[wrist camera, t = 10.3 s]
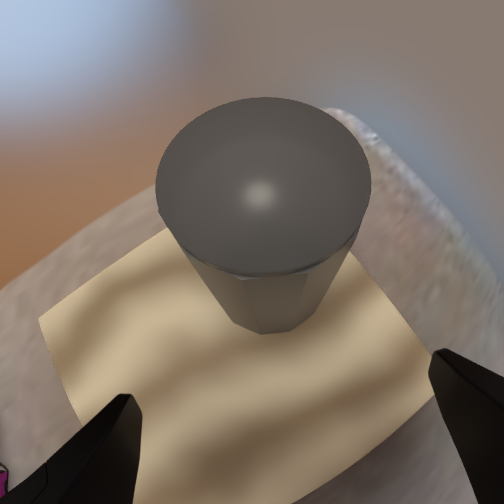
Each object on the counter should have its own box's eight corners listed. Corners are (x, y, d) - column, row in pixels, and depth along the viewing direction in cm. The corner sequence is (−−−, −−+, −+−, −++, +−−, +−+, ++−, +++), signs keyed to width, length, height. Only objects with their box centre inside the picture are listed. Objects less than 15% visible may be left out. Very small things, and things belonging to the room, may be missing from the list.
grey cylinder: (343, 290, 21) (412, 189, 10) (256, 355, 20) (230, 322, 8) (280, 214, 24) (281, 77, 12) (197, 269, 23) (126, 158, 11)
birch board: (441, 380, 19) (447, 380, 18) (176, 548, 15) (172, 553, 14) (272, 171, 27) (271, 164, 26) (44, 321, 23) (38, 318, 22)
